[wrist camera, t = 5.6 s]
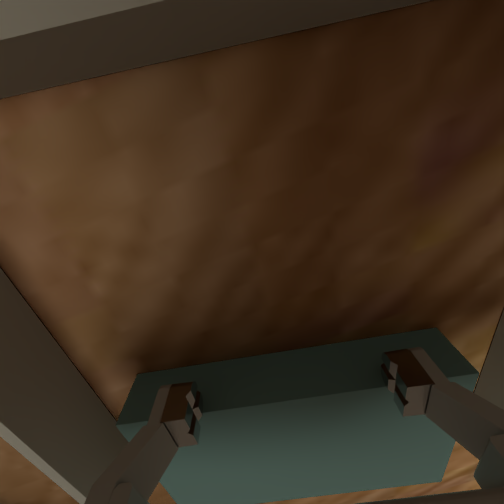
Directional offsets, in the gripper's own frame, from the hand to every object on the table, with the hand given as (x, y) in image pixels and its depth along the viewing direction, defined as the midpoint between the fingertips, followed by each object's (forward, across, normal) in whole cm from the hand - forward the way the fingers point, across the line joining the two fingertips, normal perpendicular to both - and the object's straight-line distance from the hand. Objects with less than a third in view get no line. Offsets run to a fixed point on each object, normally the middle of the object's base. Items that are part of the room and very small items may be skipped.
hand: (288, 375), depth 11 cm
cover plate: (+2, 0, +6) cm, 6 cm away
